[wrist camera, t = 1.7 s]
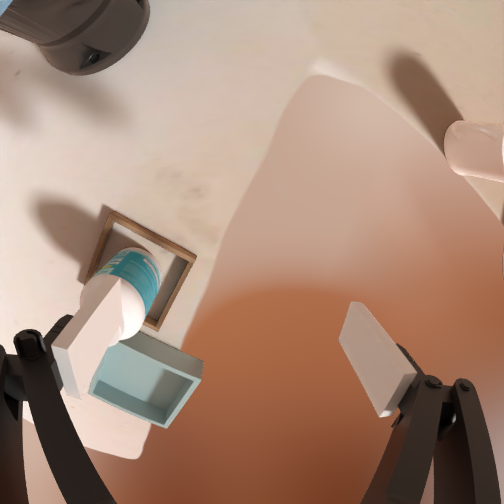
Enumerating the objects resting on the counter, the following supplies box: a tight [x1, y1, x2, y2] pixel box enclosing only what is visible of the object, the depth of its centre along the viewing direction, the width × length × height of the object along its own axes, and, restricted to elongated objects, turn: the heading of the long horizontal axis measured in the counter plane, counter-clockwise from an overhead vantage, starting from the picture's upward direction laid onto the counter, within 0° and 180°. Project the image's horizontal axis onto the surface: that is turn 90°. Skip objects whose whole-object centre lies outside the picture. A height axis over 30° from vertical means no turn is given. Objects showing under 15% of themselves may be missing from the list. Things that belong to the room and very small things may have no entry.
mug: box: [444, 120, 504, 182], centre depth 28 cm, size 12×8×12 cm
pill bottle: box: [80, 247, 162, 347], centre depth 30 cm, size 8×7×14 cm
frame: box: [84, 211, 197, 332], centre depth 36 cm, size 12×12×2 cm
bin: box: [88, 331, 203, 429], centre depth 40 cm, size 15×15×4 cm
